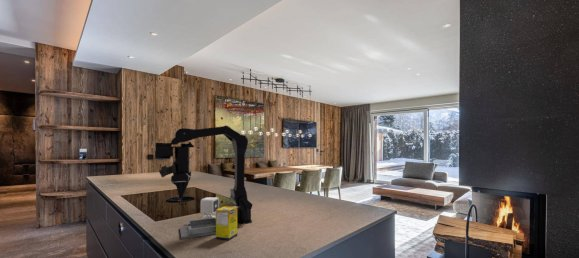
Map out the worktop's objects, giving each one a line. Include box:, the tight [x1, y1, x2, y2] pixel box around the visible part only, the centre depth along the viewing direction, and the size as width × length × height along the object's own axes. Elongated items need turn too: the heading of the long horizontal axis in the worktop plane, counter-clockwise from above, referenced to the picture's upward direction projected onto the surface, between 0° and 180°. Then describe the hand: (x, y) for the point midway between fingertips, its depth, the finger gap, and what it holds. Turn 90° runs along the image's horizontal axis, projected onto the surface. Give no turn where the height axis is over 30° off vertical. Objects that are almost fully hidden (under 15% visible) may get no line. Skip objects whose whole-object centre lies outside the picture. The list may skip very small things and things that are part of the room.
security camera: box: [199, 196, 220, 219], centre depth 124 cm, size 6×7×10 cm
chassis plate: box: [179, 217, 216, 240], centre depth 109 cm, size 18×14×3 cm
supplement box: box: [215, 205, 238, 241], centre depth 101 cm, size 6×6×11 cm
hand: (181, 196), depth 109 cm, fingers open, 9 cm apart
